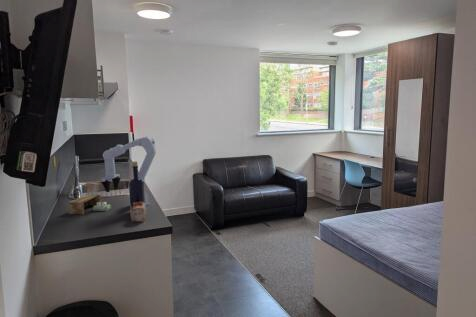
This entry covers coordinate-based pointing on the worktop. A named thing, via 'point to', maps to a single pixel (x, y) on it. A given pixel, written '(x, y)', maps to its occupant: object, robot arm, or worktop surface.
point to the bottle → (136, 187)
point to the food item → (138, 212)
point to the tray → (101, 207)
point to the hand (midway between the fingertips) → (111, 190)
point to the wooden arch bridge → (83, 203)
